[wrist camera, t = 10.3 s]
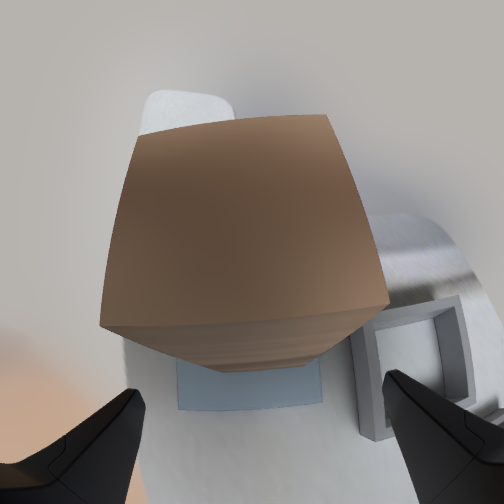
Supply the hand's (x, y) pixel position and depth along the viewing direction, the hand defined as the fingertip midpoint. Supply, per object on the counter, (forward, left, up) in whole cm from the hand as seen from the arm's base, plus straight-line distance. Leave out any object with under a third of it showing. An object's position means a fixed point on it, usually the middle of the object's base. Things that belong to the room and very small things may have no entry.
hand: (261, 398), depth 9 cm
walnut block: (+4, 0, -8) cm, 9 cm away
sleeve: (0, -10, -9) cm, 13 cm away
